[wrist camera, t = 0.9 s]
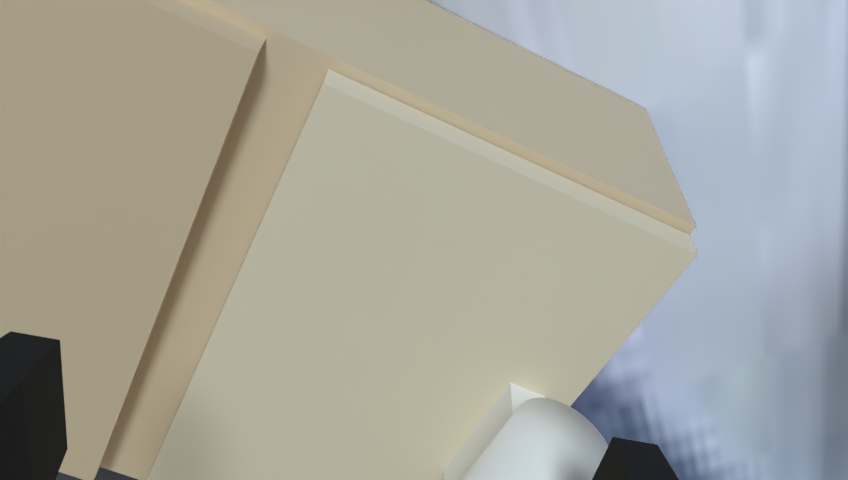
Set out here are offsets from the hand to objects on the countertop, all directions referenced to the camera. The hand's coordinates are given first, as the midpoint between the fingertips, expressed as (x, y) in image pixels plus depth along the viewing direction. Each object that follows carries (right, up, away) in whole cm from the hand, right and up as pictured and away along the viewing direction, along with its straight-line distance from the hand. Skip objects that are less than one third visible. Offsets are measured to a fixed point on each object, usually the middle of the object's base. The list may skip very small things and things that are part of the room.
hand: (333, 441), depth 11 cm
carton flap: (0, 0, +6) cm, 6 cm away
